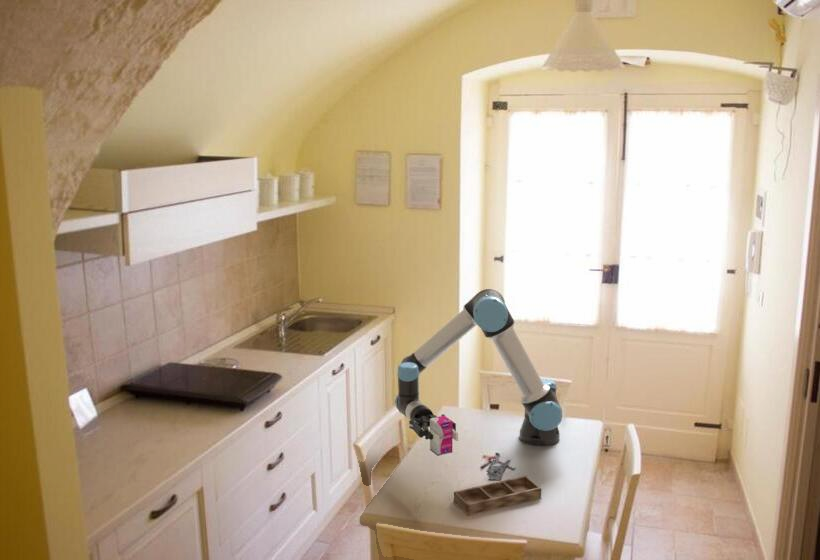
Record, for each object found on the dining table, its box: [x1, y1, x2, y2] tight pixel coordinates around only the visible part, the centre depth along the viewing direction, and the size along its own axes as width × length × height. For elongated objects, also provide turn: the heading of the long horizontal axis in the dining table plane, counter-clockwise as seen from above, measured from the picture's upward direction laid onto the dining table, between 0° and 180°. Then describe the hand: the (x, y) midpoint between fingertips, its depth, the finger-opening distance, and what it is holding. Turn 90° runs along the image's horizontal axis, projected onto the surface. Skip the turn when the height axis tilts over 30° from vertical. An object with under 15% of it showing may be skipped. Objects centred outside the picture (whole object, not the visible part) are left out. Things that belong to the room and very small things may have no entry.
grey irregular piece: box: [486, 452, 512, 481], centre depth 272 cm, size 21×7×2 cm, turn 159°
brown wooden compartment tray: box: [453, 475, 542, 516], centre depth 249 cm, size 27×10×4 cm, turn 113°
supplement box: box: [429, 415, 454, 457], centre depth 258 cm, size 6×6×12 cm
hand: (447, 438), depth 253 cm, fingers closed on supplement box, 6 cm apart
